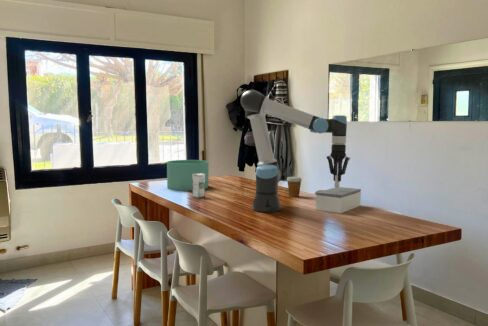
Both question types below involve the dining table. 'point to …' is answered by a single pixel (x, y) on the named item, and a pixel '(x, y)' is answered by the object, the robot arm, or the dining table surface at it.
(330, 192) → the cover
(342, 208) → the box
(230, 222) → the dining table surface
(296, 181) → the disposable coffee cup
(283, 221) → the dining table surface
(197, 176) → the syrup box
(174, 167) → the container
